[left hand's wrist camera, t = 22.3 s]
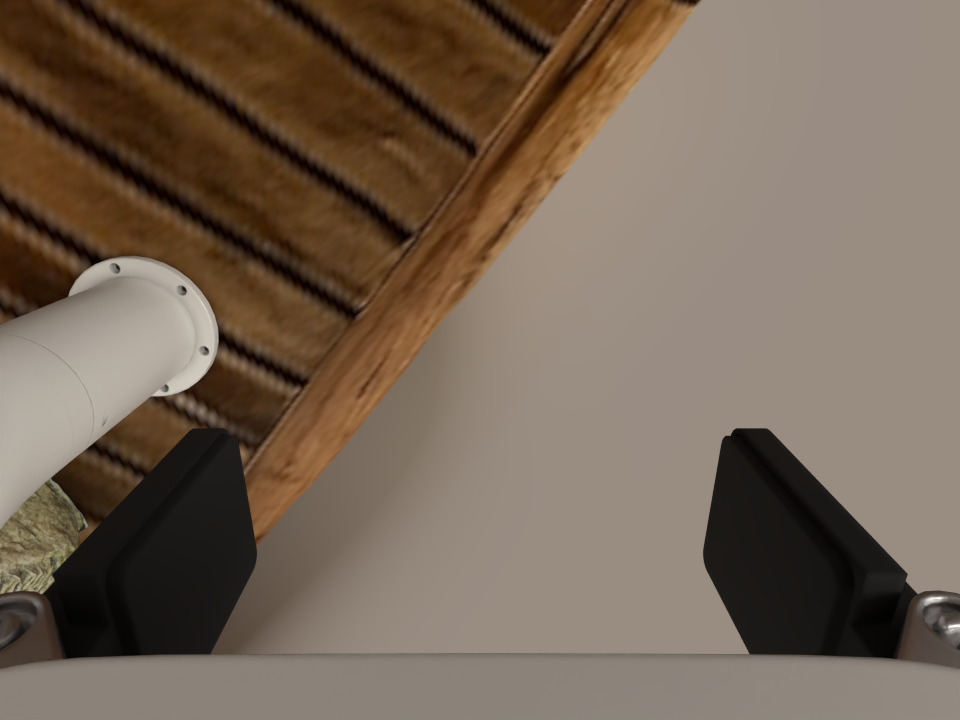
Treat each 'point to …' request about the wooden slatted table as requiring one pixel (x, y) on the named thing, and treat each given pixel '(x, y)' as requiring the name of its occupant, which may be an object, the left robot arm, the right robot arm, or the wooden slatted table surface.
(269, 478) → the wooden slatted table surface
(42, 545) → the fossil
